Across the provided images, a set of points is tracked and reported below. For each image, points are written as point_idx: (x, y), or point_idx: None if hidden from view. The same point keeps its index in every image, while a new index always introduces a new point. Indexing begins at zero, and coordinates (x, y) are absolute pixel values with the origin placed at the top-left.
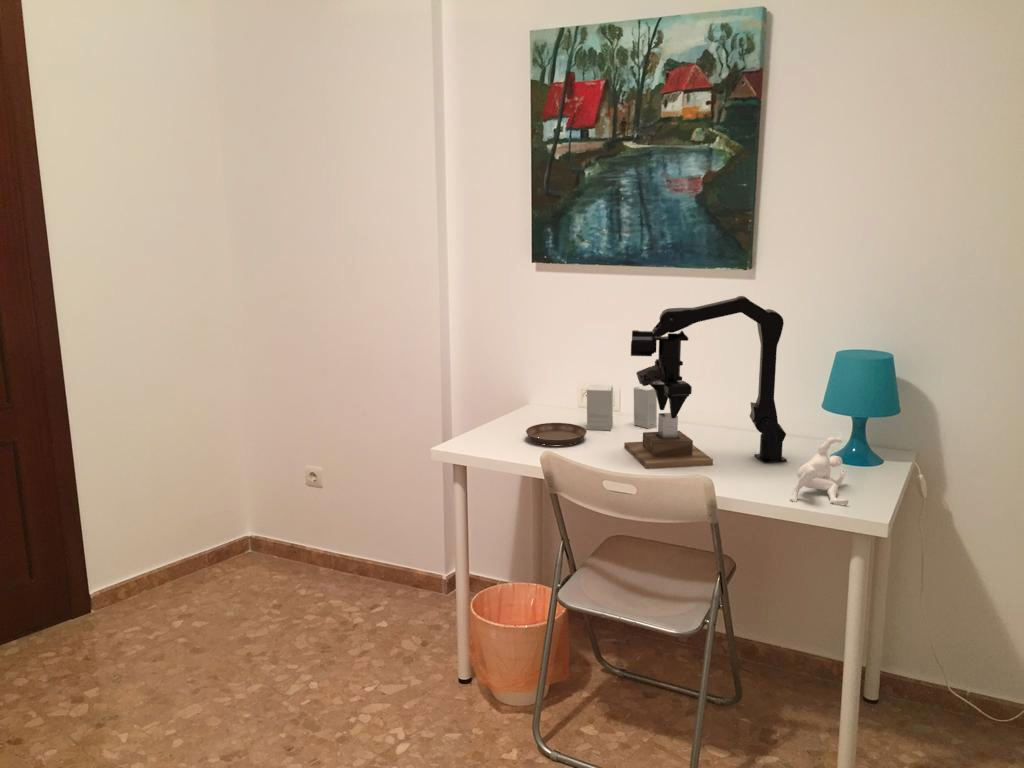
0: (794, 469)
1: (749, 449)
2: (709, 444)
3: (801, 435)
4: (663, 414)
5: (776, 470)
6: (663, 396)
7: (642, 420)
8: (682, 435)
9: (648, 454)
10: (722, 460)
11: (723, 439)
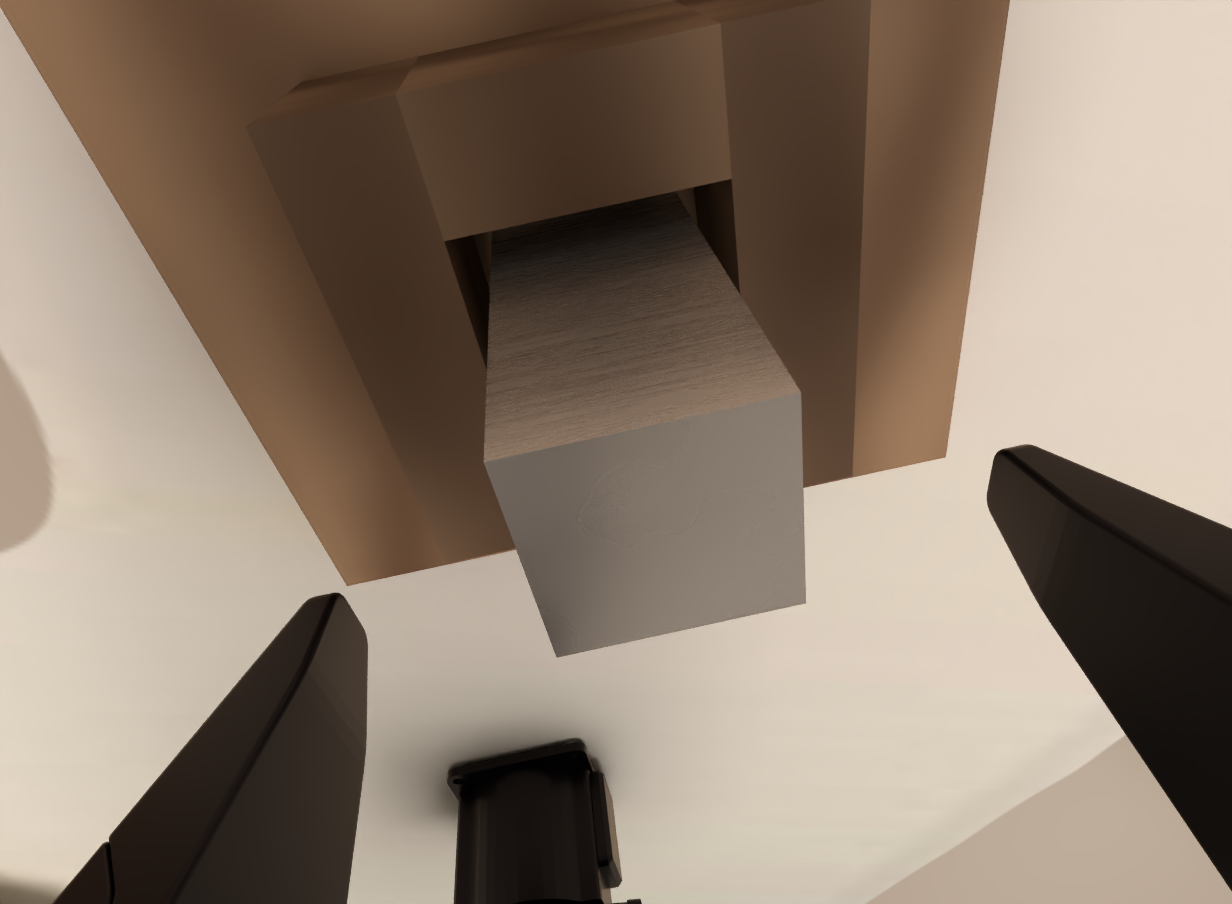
0: (360, 843)
1: (726, 726)
2: (876, 569)
3: (914, 868)
4: (698, 472)
5: None
6: (1218, 737)
7: None
8: None
9: (413, 8)
10: (486, 609)
11: (962, 639)
